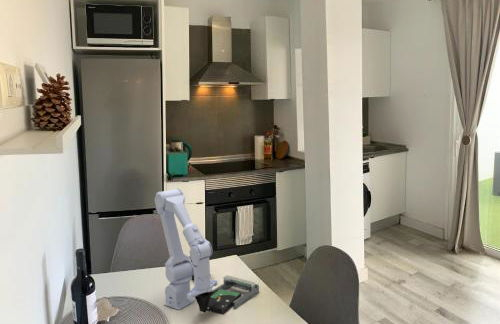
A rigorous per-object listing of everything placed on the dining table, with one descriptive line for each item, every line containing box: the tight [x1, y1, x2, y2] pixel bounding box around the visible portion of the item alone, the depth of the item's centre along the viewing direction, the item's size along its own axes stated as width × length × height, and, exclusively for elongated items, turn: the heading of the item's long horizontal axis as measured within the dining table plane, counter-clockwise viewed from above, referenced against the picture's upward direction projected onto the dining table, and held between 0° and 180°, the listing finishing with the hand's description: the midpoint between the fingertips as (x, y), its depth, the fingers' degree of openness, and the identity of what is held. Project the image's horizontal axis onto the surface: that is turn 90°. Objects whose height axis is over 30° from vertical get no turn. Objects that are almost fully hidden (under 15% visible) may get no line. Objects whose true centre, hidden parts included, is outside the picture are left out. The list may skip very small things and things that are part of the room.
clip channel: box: [212, 274, 260, 310], centre depth 164 cm, size 16×14×5 cm
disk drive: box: [206, 289, 243, 315], centre depth 158 cm, size 10×3×15 cm
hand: (203, 311), depth 150 cm, fingers closed
